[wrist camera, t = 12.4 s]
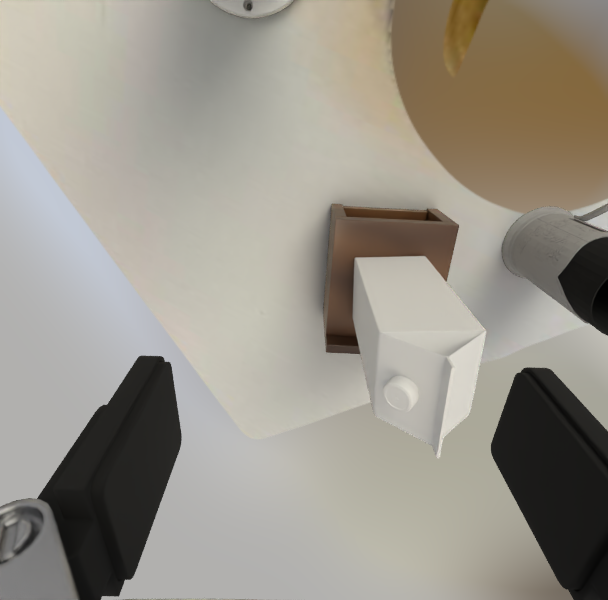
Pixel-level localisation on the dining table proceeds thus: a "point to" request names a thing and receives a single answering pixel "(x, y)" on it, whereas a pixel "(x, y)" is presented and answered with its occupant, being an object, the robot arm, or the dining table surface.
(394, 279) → the milk carton
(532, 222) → the glass holder
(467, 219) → the dining table surface
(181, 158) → the dining table surface
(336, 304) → the brown wooden box
